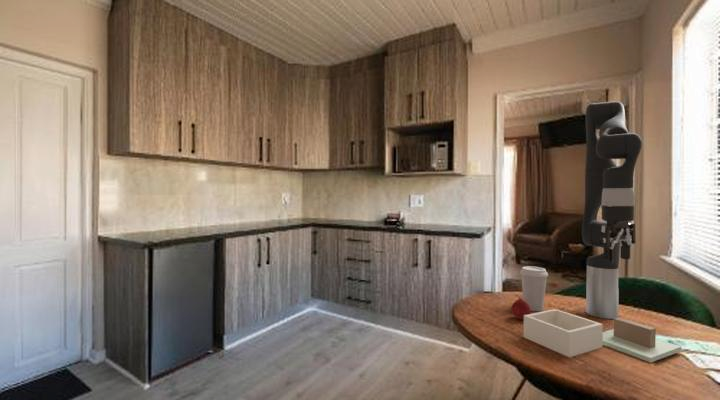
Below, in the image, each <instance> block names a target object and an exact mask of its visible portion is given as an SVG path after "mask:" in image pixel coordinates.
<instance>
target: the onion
mask: <svg viewBox="0 0 720 400" xmlns="http://www.w3.org/2000/svg"><path fill="white" fill-rule="evenodd" d="M511 313H512V314H513V316H514V317H515V318H516V319H517V320H520V321H524V315H528V314H531V310H530V306H529V305H528V303H527V302H526V301H524V300H523V296H520V297H519V298H518V299H516V300H515V301H514V302H513V303H512V305H511Z"/></svg>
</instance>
